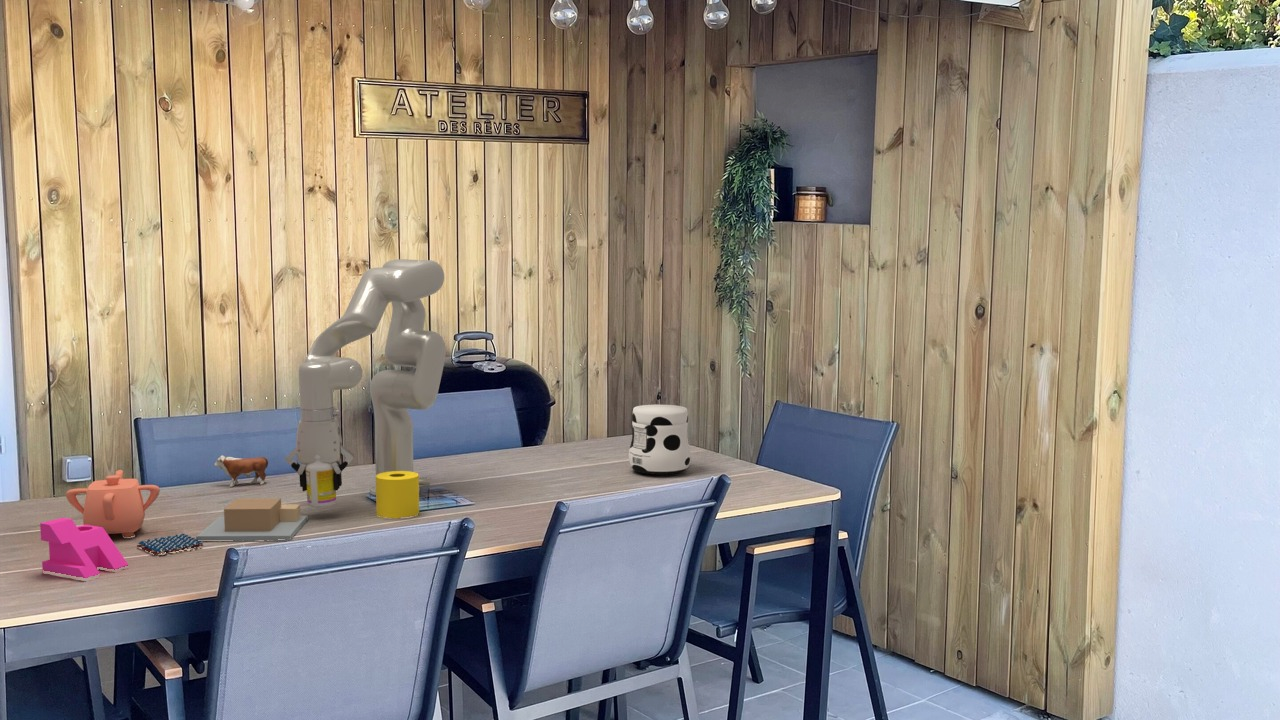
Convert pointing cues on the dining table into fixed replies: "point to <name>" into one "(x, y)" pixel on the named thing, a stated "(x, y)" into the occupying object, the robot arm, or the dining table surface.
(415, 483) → the yellow toilet paper roll
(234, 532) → the board
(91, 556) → the bracket
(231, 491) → the dining table surface
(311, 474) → the supplement bottle
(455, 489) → the dining table surface
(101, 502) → the teapot
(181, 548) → the woven mat
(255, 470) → the bull figurine
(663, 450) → the milk container
